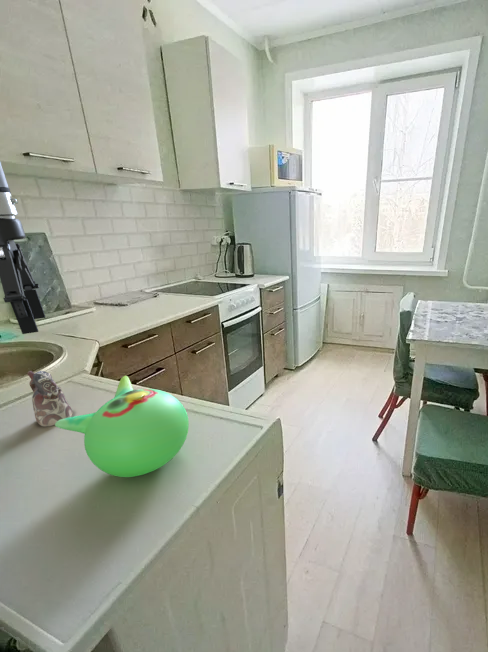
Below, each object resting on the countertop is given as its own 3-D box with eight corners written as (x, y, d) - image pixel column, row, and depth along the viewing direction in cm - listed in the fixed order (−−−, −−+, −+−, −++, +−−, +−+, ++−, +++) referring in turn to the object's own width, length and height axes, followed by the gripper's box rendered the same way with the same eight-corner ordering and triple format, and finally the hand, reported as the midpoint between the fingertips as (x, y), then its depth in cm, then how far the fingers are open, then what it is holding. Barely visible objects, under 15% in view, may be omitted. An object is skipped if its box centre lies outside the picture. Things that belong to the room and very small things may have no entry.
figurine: (53, 428, 79) (34, 379, 73) (30, 424, 81) (10, 376, 76) (79, 412, 85) (63, 366, 80) (57, 409, 87) (40, 364, 82)
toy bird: (149, 505, 56) (127, 426, 50) (71, 483, 61) (42, 410, 55) (209, 442, 71) (198, 375, 65) (142, 429, 77) (126, 366, 70)
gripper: (7, 216, 60) (49, 336, 69) (28, 218, 80) (58, 311, 89) (-50, 218, 57) (2, 343, 66) (-12, 220, 77) (23, 315, 86)
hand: (35, 325), depth 78 cm, fingers open, 13 cm apart
